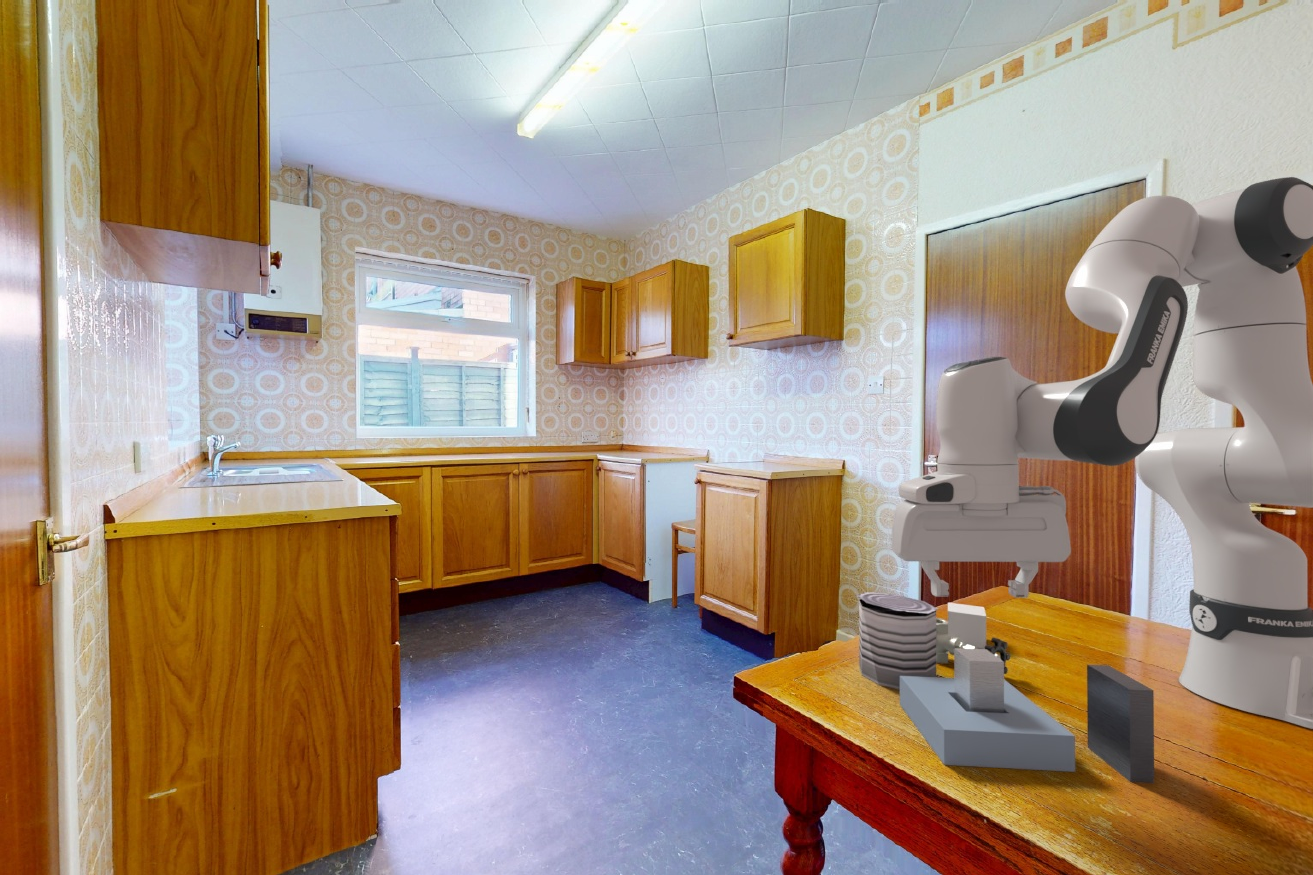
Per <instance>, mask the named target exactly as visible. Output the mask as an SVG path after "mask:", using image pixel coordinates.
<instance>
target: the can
mask: <svg viewBox="0 0 1313 875" xmlns="http://www.w3.org/2000/svg"><path fill="white" fill-rule="evenodd" d="M856 596H857V598H860V599H859V600H858V603H859V604H858V605H859V606H858V608H859V609H858V613H859V614H858V617H859V618H858V622H859V623H858V629H859V630H858V633H859V634H858V639H859V641H858V643H859V644H858V648H859V649H858V651H859V652H858V654H859V655H858V659H859V660H858V661H859V662H858V664H859V665H858V667H859V670H860V674H861V676H863V678H866V679H867V680H869V681H871V682H872V683H875V684H876V685H878V686H882V687H884V688H885V687H886V688H891V689H895V690H899V691H900V676H917V677H937V663H936V618H937V611H938V610H939V608H938V607H936V606H933V605H932V604H929V603H928V602H927V601H924V600H921V599H916V598H911V597H908V596H902V595H899V594H898V595H897V594H893V593H892V594H891V593H883V592H882V593H881V592H872V591H871V592H870V591H867V592H864V593H860V594H856Z"/></svg>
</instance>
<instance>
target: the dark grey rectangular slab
mask: <svg viewBox="0 0 1313 875" xmlns="http://www.w3.org/2000/svg"><path fill="white" fill-rule="evenodd" d="M1086 678H1087V679H1086V681H1087V682H1086V685H1087V686H1086V695H1087V696H1086V697H1087V698H1086V700H1087V701H1086V702H1087V704H1086V707H1087V708H1086V709H1087V711H1086V712H1087V714H1086V715H1087V716H1086V717H1087V722H1086V723H1087V728H1086V729H1087V749H1088V750H1090V751H1091V752H1092V753H1093V754H1095V755H1096V756H1097V757H1099V759H1100V760H1102V761H1104V762H1105V763H1106V764H1107V765H1108V766H1110V767H1111V768H1113V770H1115V771H1116V772H1117V773H1119V774H1120V775H1121V776H1122V777H1124V778H1125V779H1126V780H1127V781H1129V782H1130V783H1146V784H1155V726H1154V725H1155V724H1154V722H1155V719H1154V718H1155V717H1154V716H1155V713H1154V712H1155V711H1154V704H1155V703H1154V701H1155V700H1154V690H1153V689H1152V688H1150V687H1148V686H1147V685H1144V684H1143V683H1141V682H1140V681H1137V680H1136V679H1134V678H1132V677H1130V676H1128V675H1126V674H1125V673H1123V672H1122V671H1119V670H1118V669H1116V668H1114V667H1113V666H1110V665H1109V664H1108V665H1107V664H1086Z"/></svg>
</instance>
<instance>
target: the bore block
mask: <svg viewBox="0 0 1313 875" xmlns="http://www.w3.org/2000/svg"><path fill="white" fill-rule="evenodd" d="M899 705H900V707H901V709H902V710H903V711H904V713H905V714H906V715H907V717H908V718H909V719H910V721H911V722H912V723H913V724H914V726H915V727H916V729H917V730H918V731H919V733H920V734H921V736H923V738H924V739H925V741H926V742H927V743H928V744H929V747H930V748H931V749H932V750H933V751H934V753H935V754H936V756H937V757H938V759H939V760H940V761H941V762H942V764H943V765H944V766H962V767H963V766H964V767H980V768H981V767H982V768H998V769H999V768H1000V769H1016V770H1017V769H1019V770H1034V771H1053V772H1055V771H1056V772H1070V773H1071V772H1072V773H1073V772H1074V773H1076V735H1074V734H1073V733H1072V732H1071V731H1069V729H1067V728H1066V727H1064V726H1063V725H1062V724H1060V722H1058V721H1057V720H1056V719H1054V718H1053V717H1052V716H1051V715H1050V714H1049V713H1047V712H1046V711H1045V710H1043V709H1042V708H1041V707H1039V706H1038V705H1037V704H1036V703H1035V702H1033V701H1032V700H1031V699H1029V698H1028V697H1027V696H1025V695H1024V694H1023V693H1022V692H1021V691H1019V690H1018V689H1017V688H1016V687H1014V685H1012V684H1010V683H1009V681H1007V680H1006V679H1004V713H988V712H966V711H965V710H964V709H963V708H962V707H961V706H960V704H959V703H958V702H957V701H956V700H955V699H954V677H938V676H936V677H917V676H900V690H899Z"/></svg>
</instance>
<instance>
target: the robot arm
mask: <svg viewBox="0 0 1313 875" xmlns="http://www.w3.org/2000/svg"><path fill="white" fill-rule="evenodd" d="M1312 247H1313V185H1312V184H1311V183H1309V182H1307V181H1305V180H1303V179H1301V178H1299V177H1294V176H1288V177H1280V178H1275V179H1274V178H1273V179H1270V180H1268V179H1267V180H1263V181H1260V182H1259V181H1258V182H1255V183H1253V184H1250V185H1248V187H1245V188H1243V189H1239V190H1234V191H1230V192H1227V193H1224V194H1221V195H1217V196H1213V197H1210V198H1207V199H1205V200H1201V201H1199V202H1196V203H1193V204H1191V203H1190V202H1188V201H1186V200H1185V199H1182V198H1179V197H1177V196H1172V195H1154V196H1147V197H1143V198H1141V199H1138V200H1136V201H1134V202H1132V203H1130V204H1127V206H1126V207H1124V208H1123V209H1122V210H1120V211H1119V212H1118V213H1117V214H1116V215H1115V216H1114V217H1113V218H1112V219H1111V220H1110V221H1109V222H1108V223H1107V224H1106V225H1105V226H1104V228H1103V229H1102V230H1101V231H1100V232H1099V233H1098V234H1097V236H1096V237H1095V238H1094V240H1093V241H1092V242H1091V244H1090V245H1089V247H1088V248H1086V251H1085V252H1084V254H1083V255H1082V257H1081V258H1080V260H1079V261H1078V262H1077V263H1076V265H1075V267H1074V269H1073V271H1072V273H1071V274H1070V276H1069V279H1068V281H1067V284H1066V287H1065V292H1064V296H1065V300H1066V304H1067V307H1068V308H1069V310H1070V312H1071V313H1072V314H1073V315H1074V317H1076V318H1077V319H1078V320H1079V321H1080V322H1082V323H1083V324H1085V325H1087V326H1089V327H1091V329H1092V328H1093V329H1095V330H1098V331H1100V332H1104V333H1109V334H1118V335H1117V336H1116V339H1115V342H1114V344H1113V348H1112V349H1111V353H1110V355H1109V357H1108V360H1107V362H1106V365H1105V367H1103V368H1102V369H1101V370H1099V371H1097V372H1095V373H1093V374H1091V375H1089V376H1086V377H1083V378H1079V379H1075V380H1070V381H1058V382H1049V383H1038V382H1037V381H1035V380H1032V379H1029V378H1027V377H1025V376H1024V375H1022V374H1020V373H1019V372H1018V371H1016V370H1015V369H1014V368H1013V366H1012V363H1011V361H1010V359H1009V358H1008V357H1004V356H1003V357H1002V356H991V357H986V358H980V359H977V360H976V359H975V360H969V361H965V362H960V363H956V364H952V365H950V366H949V367H947V368H946V369H944V371H943V372H942V374H941V376H940V378H939V384H938V387H937V388H938V389H937V393H936V394H937V395H936V410H935V412H936V413H935V414H936V415H935V416H936V420H935V421H936V433H937V435H938V438H939V443H940V447H939V452H938V455H937V456H938V457H937V459H936V463H937V464H936V465H937V466H936V468H937V469H936V470H937V471H934V472H930V473H928V474H924V475H922V476H918V477H915V478H912V479H908V480H906V481H904V482H901V483H900V484H899V485H898V495H899V497H900V498H901V499H904V500H902V501H900V502H899V503H898V504H897V505H896V507H895V509H894V512H893V516H892V518H893V519H892V526H891V548H892V549H891V550H892V551H893V553H894V554H895V555H896V556H897V557H898V558H899V559H901V560H904V561H905V562H921V564H920V566H921V568H922V569H923V572H925V574H926V575H927V577H928V579H929V580H930V592H931V594H932V596H934V597H939V598H940V597H942V598H943V597H946V598H947V597H949V596H950V592H949V589H950V588H949V587H950V586H949V585H950V583H948V581H947V582H946V581H945V580H944V579H940V577H939V576H938V574H937V572H936V571H939V570H940V562H966V563H967V562H971V563H974V562H975V563H976V562H977V563H978V562H979V563H980V562H984V563H985V562H989V563H990V562H991V563H993V562H994V563H995V562H996V563H997V562H998V563H1005V562H1006V563H1007V562H1008V563H1009V562H1010V563H1014V562H1015V563H1016V566H1017V567H1018V568H1020V569H1019V572H1018V573H1017V575H1016V577H1015V579H1013V580H1011V579H1010V580H1009V579H1008V580H1007V581H1008V582H1007V585H1008V587H1009V588H1007V590H1008V594H1009V595H1010V596H1011V597H1014V598H1023V599H1024V598H1029V593H1030V592H1029V589H1030V588H1029V586H1030V584H1031V583H1032V582H1033V579H1034V578H1035V577H1036V575H1037V573H1038V572H1039V563H1063V562H1066V560H1067V559H1068V558H1069V556H1070V555H1071V553H1072V549H1071V547H1072V546H1071V539H1070V532H1069V526H1068V522H1067V517H1066V514H1067V500H1066V497H1065V496H1064V495H1063V493H1061V492H1060V491H1059V490H1058V489H1054V487H1053V486H1048V485H1040V486H1029V485H1020V476H1019V475H1020V473H1019V464H1020V463H1019V458H1020V459H1037V460H1045V461H1070V462H1071V461H1072V462H1073V461H1074V462H1079V463H1087V464H1094V465H1100V466H1101V465H1102V466H1111V467H1114V466H1120V465H1124V464H1127V463H1128V462H1130V461H1132V460H1133V459H1134V467H1135V471H1136V473H1137V476H1138V477H1139V479H1140V480H1141V482H1142V483H1143V484H1144V485H1145V486H1146V487H1147V488H1148V489H1150V490H1151V491H1153V493H1155V494H1157V495H1159V496H1160V497H1161V499H1163V500H1164V501H1165V502H1166V503H1167V504H1168V505H1170V507H1171V508H1172V509H1173V510H1174V512H1175V513H1176V514H1177V516H1178V517H1179V519H1180V520H1181V522H1182V524H1183V526H1184V528H1185V530H1186V532H1187V535H1188V537H1189V543H1190V549H1191V558H1192V570H1193V575H1192V576H1193V589H1192V590H1189V604H1188V606H1189V612H1188V613H1189V616H1190V620H1191V624H1192V625H1191V631H1190V638H1189V644H1188V649H1187V652H1186V653H1187V654H1186V657H1185V662H1184V665H1183V669H1182V671H1181V673H1180V675H1179V678H1178V682H1179V683H1180V684H1181V685H1182V686H1183V687H1184V688H1185V689H1187V690H1189V691H1190V692H1192V693H1194V694H1197V695H1199V696H1201V697H1203V698H1206V699H1208V700H1210V701H1212V702H1215V703H1218V704H1221V705H1224V706H1227V707H1230V708H1233V709H1236V710H1237V709H1238V710H1241V711H1244V712H1248V713H1252V714H1255V715H1259V716H1262V717H1264V716H1265V717H1269V718H1273V719H1277V720H1281V721H1284V722H1288V723H1291V724H1294V725H1298V726H1301V727H1304V728H1307V729H1311V730H1313V609H1312V608H1311V607H1310V606H1309V605H1308V558H1307V556H1306V553H1305V552H1304V550H1303V549H1302V548H1301V547H1300V546H1299V545H1298V543H1296V542H1295V541H1294V540H1292V539H1291V538H1289V537H1287V536H1286V535H1284V534H1282V533H1280V532H1277V531H1275V530H1273V529H1271V528H1269V527H1266V526H1265V525H1264V524H1262V522H1260V521H1259V520H1258V519H1257V517H1256V516H1255V514H1254V513H1253V512H1252V509H1251V505H1250V504H1259V505H1275V506H1286V507H1300V508H1312V509H1313V382H1312V378H1311V373H1310V366H1309V359H1308V357H1309V356H1308V345H1307V344H1308V342H1307V341H1308V340H1307V338H1308V337H1307V327H1308V326H1307V312H1306V311H1307V308H1306V301H1305V295H1304V294H1305V293H1304V290H1303V284H1302V281H1301V277H1300V274H1299V271H1298V269H1297V265H1298V264H1299V263H1300V262H1301V260H1302V258H1303V256H1304V254H1306V253H1307V252H1309V250H1310V249H1311V248H1312ZM1195 285H1197V288H1198V289H1199V291H1198V295H1197V299H1196V300H1197V301H1196V306H1195V310H1194V318H1193V319H1194V320H1193V334H1192V336H1193V339H1192V341H1193V342H1192V346H1193V348H1192V352H1193V353H1192V358H1193V360H1192V362H1193V363H1192V366H1193V367H1192V370H1193V372H1192V378H1193V379H1192V380H1193V381H1192V382H1193V383H1194V385H1195V387H1196V388H1197V389H1198V390H1199V391H1200V392H1201V393H1202V394H1204V395H1205V396H1207V397H1209V398H1211V399H1214V400H1216V401H1220V402H1222V403H1224V404H1225V403H1226V404H1229V405H1232V406H1234V407H1235V408H1237V410H1238V411H1239V413H1240V414H1241V416H1242V418H1243V422H1244V426H1242V427H1241V426H1240V427H1238V426H1237V427H1234V426H1233V427H1195V428H1194V427H1192V428H1188V427H1187V428H1182V429H1176V430H1169V431H1164V432H1159V433H1158V431H1159V428H1160V421H1161V408H1162V397H1163V394H1164V390H1165V387H1166V385H1167V381H1168V379H1169V375H1170V371H1171V369H1172V366H1173V363H1174V360H1175V357H1176V354H1177V351H1178V349H1179V344H1180V342H1181V338H1182V335H1183V331H1184V328H1185V325H1186V323H1187V322H1186V320H1187V318H1188V316H1187V315H1188V310H1189V306H1188V305H1189V303H1188V302H1189V301H1188V297H1187V293H1186V291H1185V289H1184V288H1183V287H1189V286H1195Z"/></svg>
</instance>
